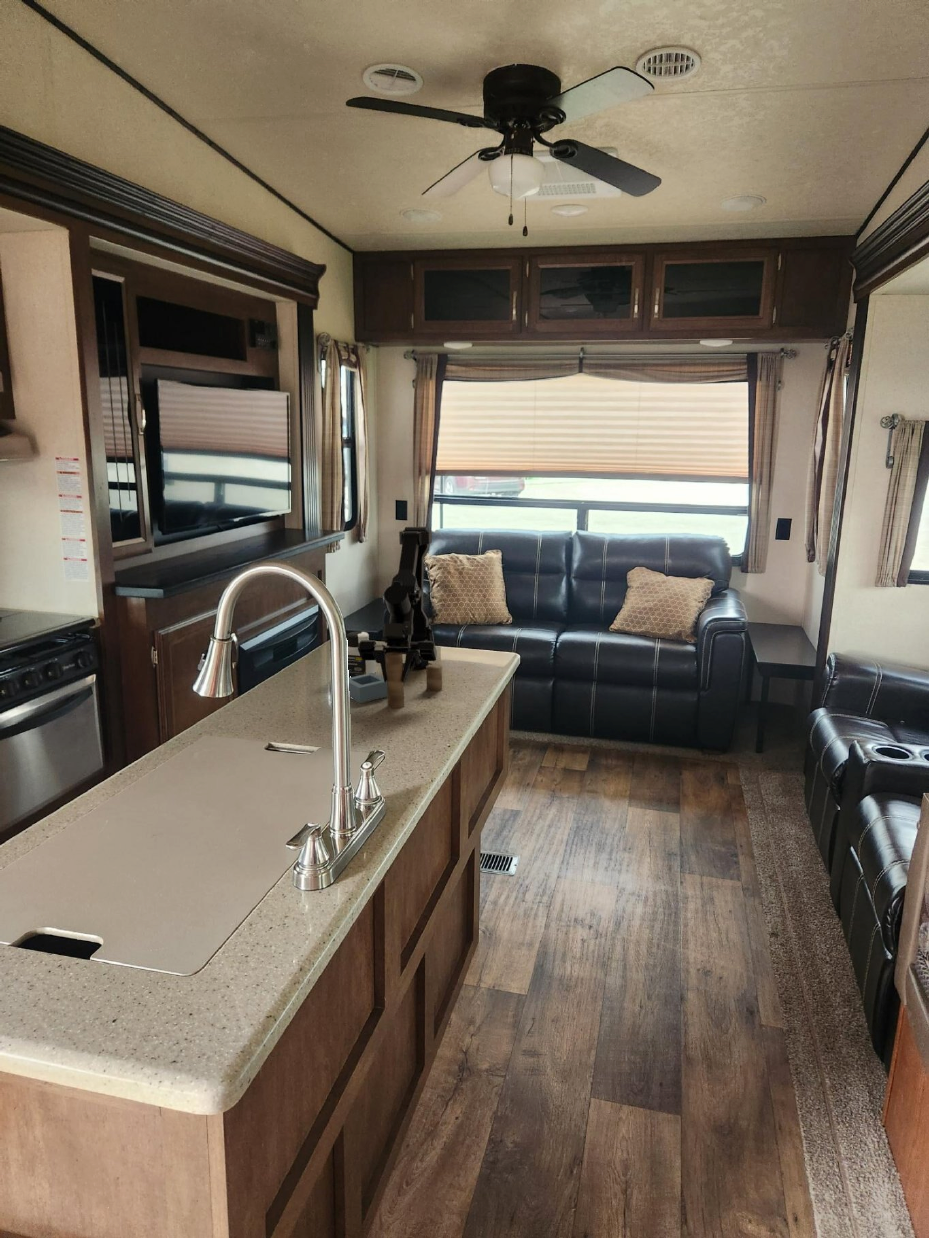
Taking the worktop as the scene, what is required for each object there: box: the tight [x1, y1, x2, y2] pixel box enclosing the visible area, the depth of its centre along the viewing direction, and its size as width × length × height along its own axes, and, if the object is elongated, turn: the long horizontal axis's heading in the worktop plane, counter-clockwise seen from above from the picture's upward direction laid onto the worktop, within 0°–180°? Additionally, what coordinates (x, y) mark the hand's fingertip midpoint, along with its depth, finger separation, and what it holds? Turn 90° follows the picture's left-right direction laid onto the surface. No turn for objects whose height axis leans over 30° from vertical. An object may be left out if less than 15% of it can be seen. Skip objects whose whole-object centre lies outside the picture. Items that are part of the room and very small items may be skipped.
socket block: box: [349, 673, 388, 704], centre depth 210 cm, size 9×9×4 cm
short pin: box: [425, 664, 443, 692], centre depth 214 cm, size 4×4×6 cm
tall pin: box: [386, 652, 405, 709], centre depth 201 cm, size 4×4×13 cm
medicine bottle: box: [346, 630, 377, 678], centre depth 226 cm, size 7×7×12 cm
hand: (393, 681), depth 200 cm, fingers closed on tall pin, 4 cm apart
